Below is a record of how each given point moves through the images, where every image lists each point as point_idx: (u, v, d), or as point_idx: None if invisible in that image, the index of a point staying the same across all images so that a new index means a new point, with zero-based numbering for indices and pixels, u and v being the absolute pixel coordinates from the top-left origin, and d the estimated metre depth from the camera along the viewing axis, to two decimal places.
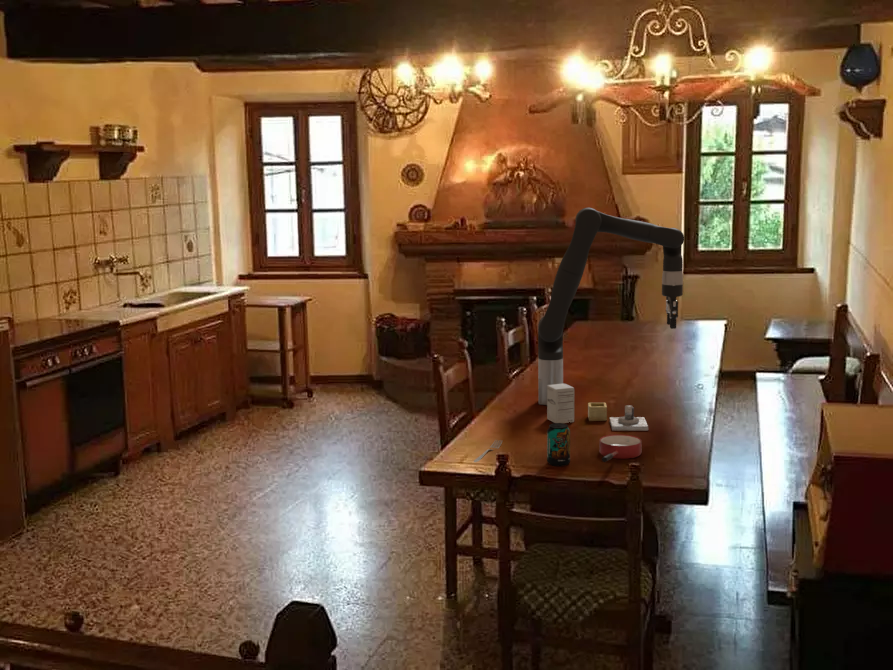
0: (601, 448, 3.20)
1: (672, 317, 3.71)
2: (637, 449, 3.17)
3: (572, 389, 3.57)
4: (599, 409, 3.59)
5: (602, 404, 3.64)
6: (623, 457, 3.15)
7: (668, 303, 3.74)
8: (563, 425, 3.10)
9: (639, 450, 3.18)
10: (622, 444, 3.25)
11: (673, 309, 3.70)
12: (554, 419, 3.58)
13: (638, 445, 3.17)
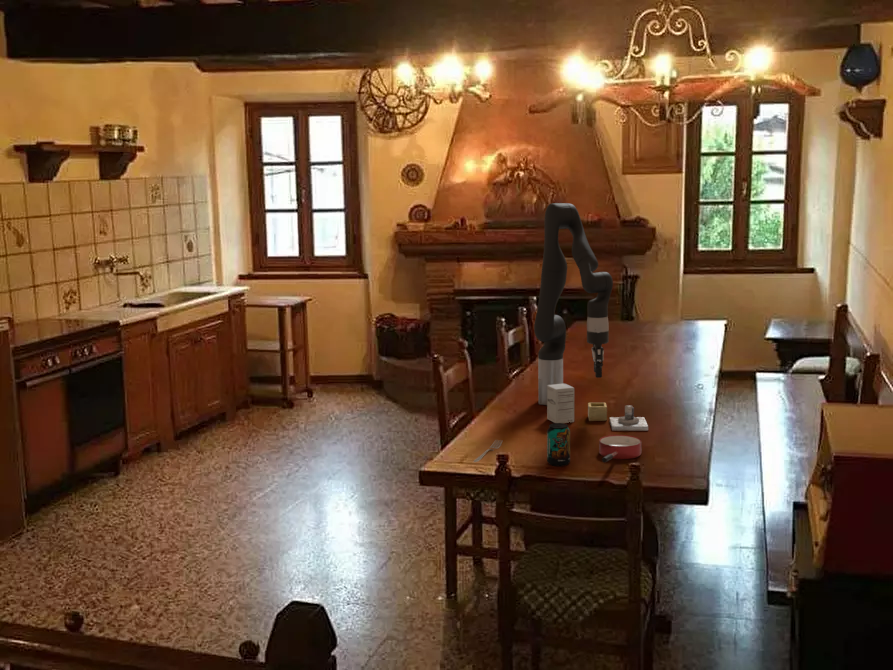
0: (601, 448, 3.19)
1: (597, 366, 3.53)
2: (637, 449, 3.16)
3: (572, 389, 3.57)
4: (599, 409, 3.59)
5: (602, 404, 3.64)
6: (623, 457, 3.15)
7: (593, 351, 3.57)
8: (563, 425, 3.10)
9: (639, 450, 3.17)
10: (622, 444, 3.24)
11: (598, 357, 3.52)
12: (554, 419, 3.58)
13: (638, 445, 3.16)
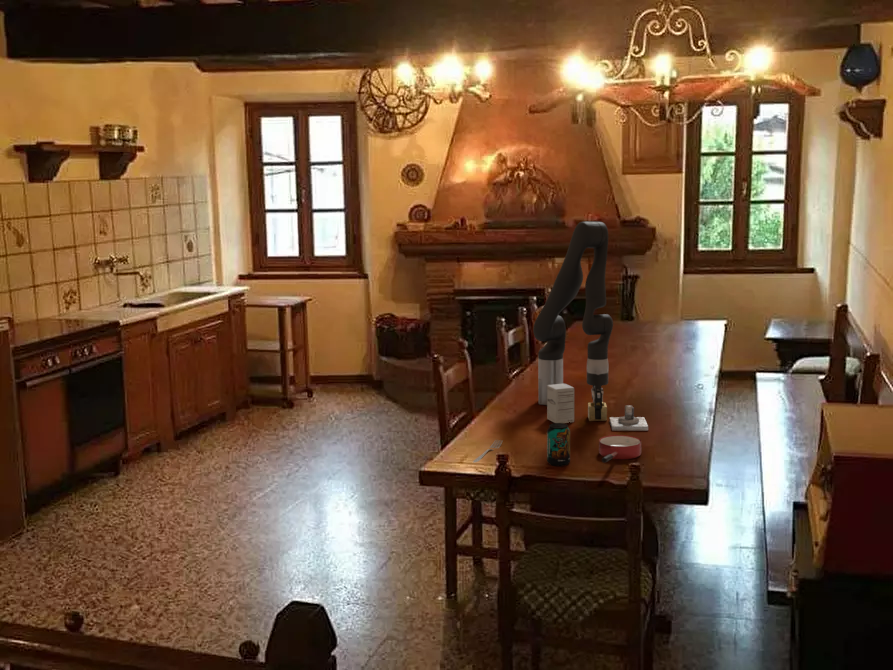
0: (601, 449, 3.19)
1: (596, 408, 3.57)
2: (637, 450, 3.16)
3: (572, 389, 3.57)
4: None
5: (602, 404, 3.64)
6: (623, 458, 3.15)
7: (593, 392, 3.59)
8: (563, 425, 3.10)
9: (639, 451, 3.17)
10: (622, 445, 3.24)
11: (597, 401, 3.55)
12: (554, 419, 3.58)
13: (638, 446, 3.16)
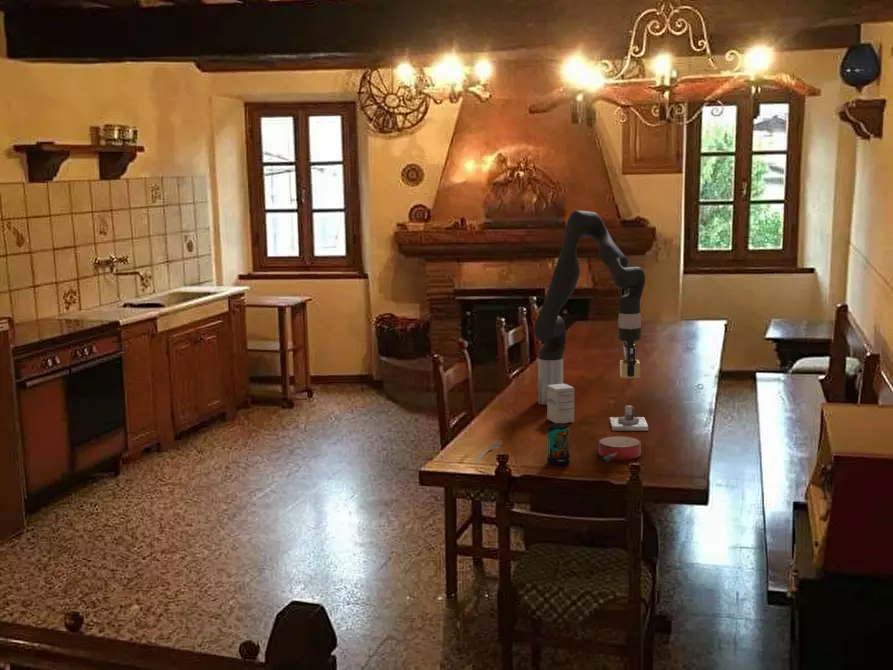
0: (600, 449, 3.18)
1: (629, 364, 3.43)
2: (636, 450, 3.16)
3: (572, 389, 3.57)
4: None
5: None
6: (622, 458, 3.14)
7: (625, 348, 3.46)
8: (563, 425, 3.10)
9: (638, 451, 3.17)
10: (621, 445, 3.24)
11: (630, 357, 3.42)
12: (554, 419, 3.58)
13: (637, 446, 3.16)
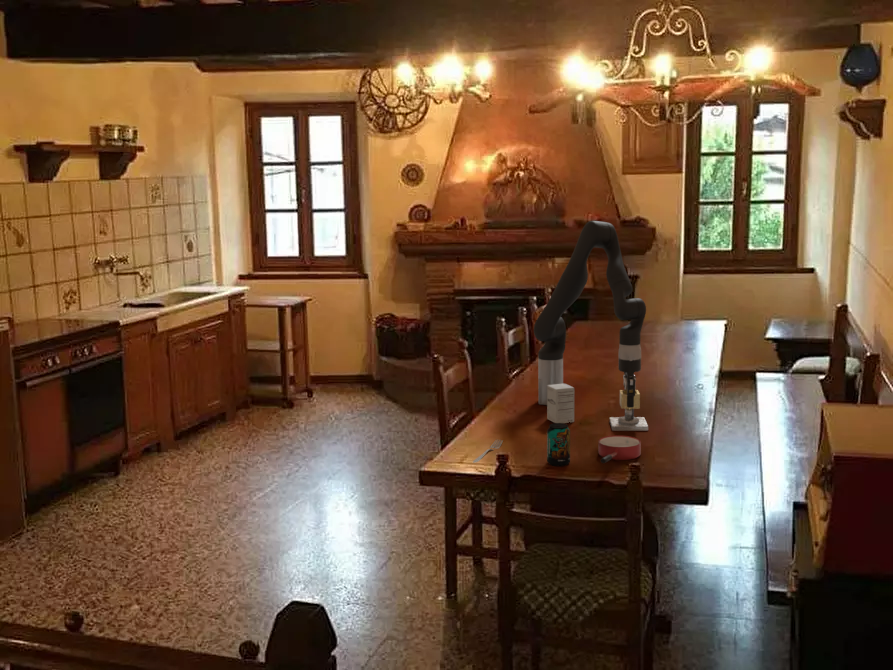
0: (600, 449, 3.18)
1: (629, 396, 3.45)
2: (636, 450, 3.15)
3: (572, 389, 3.57)
4: None
5: None
6: (622, 458, 3.14)
7: (625, 379, 3.48)
8: (563, 425, 3.10)
9: (638, 451, 3.16)
10: (621, 445, 3.23)
11: (630, 388, 3.44)
12: (554, 419, 3.58)
13: (637, 446, 3.15)
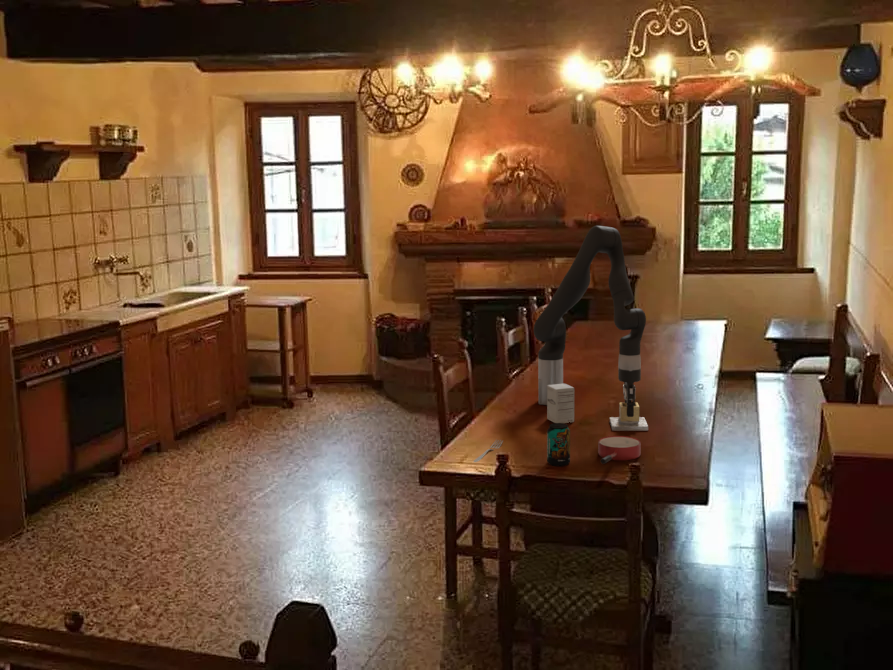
0: (600, 450, 3.18)
1: (629, 405, 3.45)
2: (636, 451, 3.15)
3: (572, 389, 3.57)
4: None
5: None
6: (622, 459, 3.14)
7: (625, 389, 3.48)
8: (563, 425, 3.10)
9: (638, 452, 3.16)
10: (621, 446, 3.23)
11: (630, 397, 3.44)
12: (554, 419, 3.58)
13: (637, 447, 3.15)
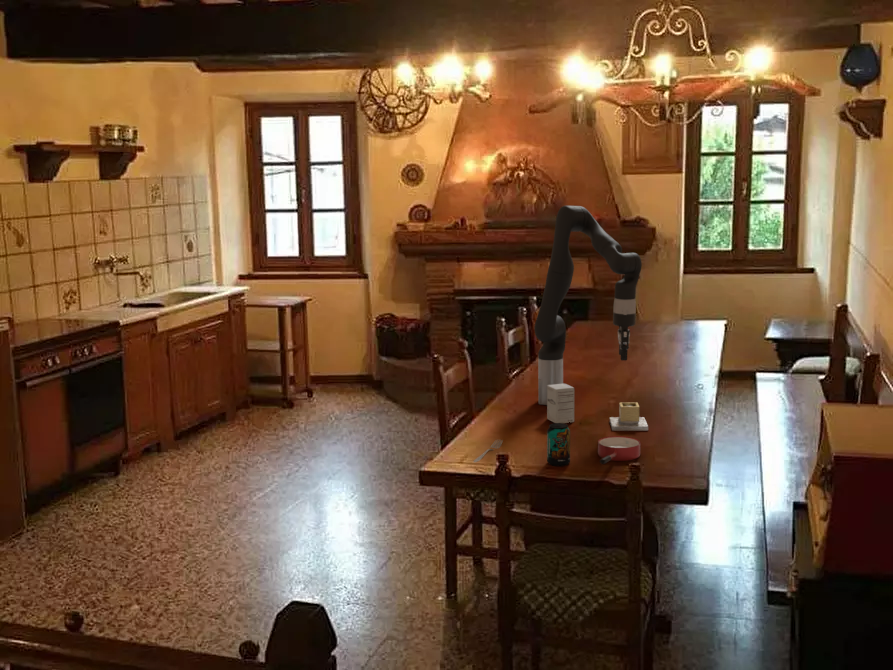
0: (599, 450, 3.18)
1: (622, 348, 3.46)
2: (636, 451, 3.15)
3: (572, 389, 3.57)
4: (632, 409, 3.48)
5: (634, 404, 3.53)
6: (622, 459, 3.13)
7: (619, 333, 3.50)
8: (563, 425, 3.10)
9: (638, 452, 3.16)
10: (621, 446, 3.23)
11: (623, 340, 3.45)
12: (554, 419, 3.58)
13: (637, 447, 3.15)
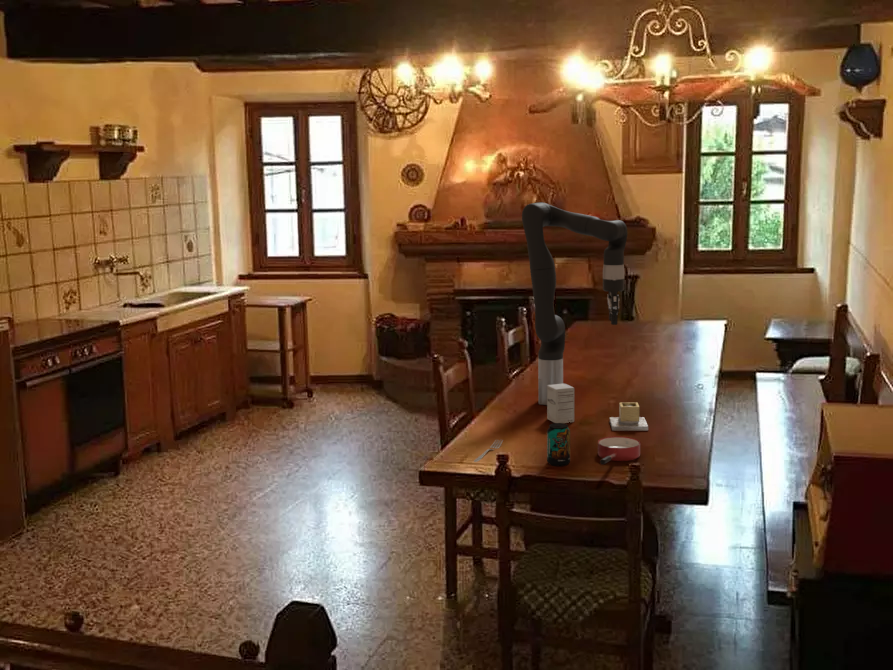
0: (599, 450, 3.17)
1: (613, 313, 3.57)
2: (636, 451, 3.14)
3: (572, 389, 3.57)
4: (632, 409, 3.48)
5: (634, 404, 3.53)
6: (621, 459, 3.13)
7: (609, 298, 3.61)
8: (563, 425, 3.10)
9: (638, 452, 3.15)
10: (621, 446, 3.22)
11: (613, 304, 3.56)
12: (554, 419, 3.58)
13: (637, 447, 3.14)
